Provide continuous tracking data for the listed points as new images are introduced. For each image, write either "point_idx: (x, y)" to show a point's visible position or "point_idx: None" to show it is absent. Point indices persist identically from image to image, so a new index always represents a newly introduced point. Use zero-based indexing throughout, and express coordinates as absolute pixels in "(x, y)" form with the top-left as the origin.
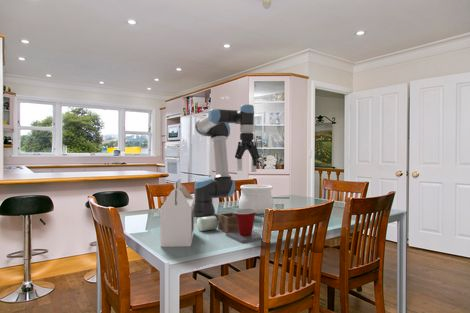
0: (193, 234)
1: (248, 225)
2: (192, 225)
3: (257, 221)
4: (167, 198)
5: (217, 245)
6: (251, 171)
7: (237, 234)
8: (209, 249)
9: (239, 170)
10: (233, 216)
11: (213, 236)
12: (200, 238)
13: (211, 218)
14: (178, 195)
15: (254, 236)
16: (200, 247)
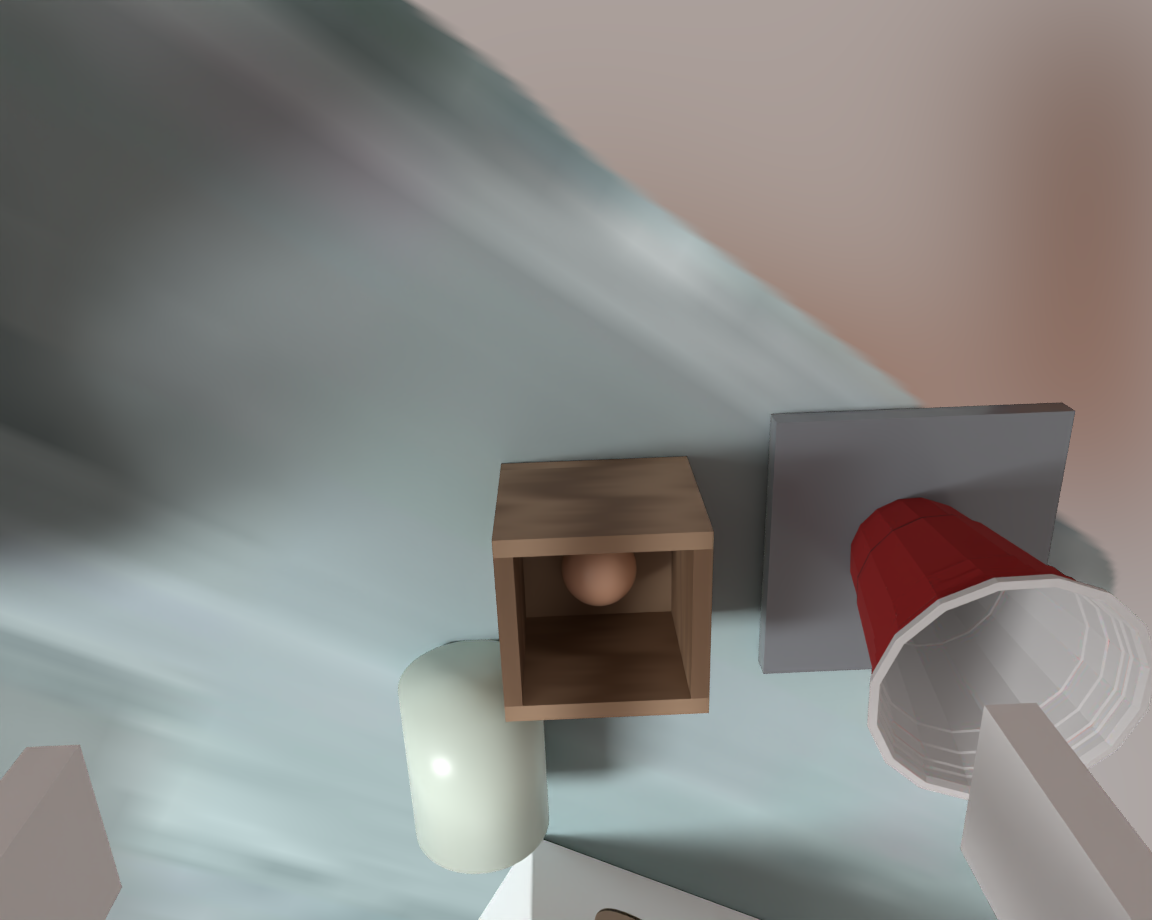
0: (592, 861)
1: (1028, 620)
2: (527, 899)
3: (376, 3)
4: None
5: (940, 812)
6: (973, 865)
7: (855, 607)
8: None
9: (105, 841)
10: (701, 633)
11: (712, 748)
12: (705, 843)
13: (513, 768)
14: None
15: (1010, 513)
16: (902, 911)
